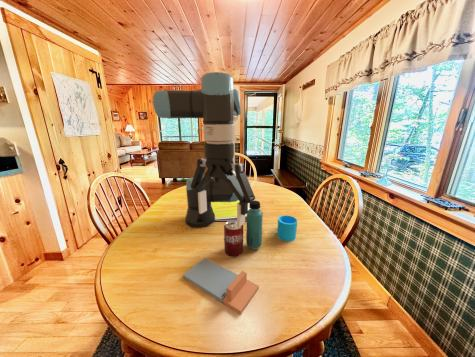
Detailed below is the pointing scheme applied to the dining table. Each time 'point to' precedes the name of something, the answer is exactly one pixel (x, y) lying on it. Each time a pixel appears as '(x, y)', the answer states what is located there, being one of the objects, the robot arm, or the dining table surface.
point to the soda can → (233, 239)
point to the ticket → (211, 278)
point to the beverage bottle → (254, 225)
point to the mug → (287, 228)
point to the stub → (240, 293)
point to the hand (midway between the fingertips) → (220, 218)
